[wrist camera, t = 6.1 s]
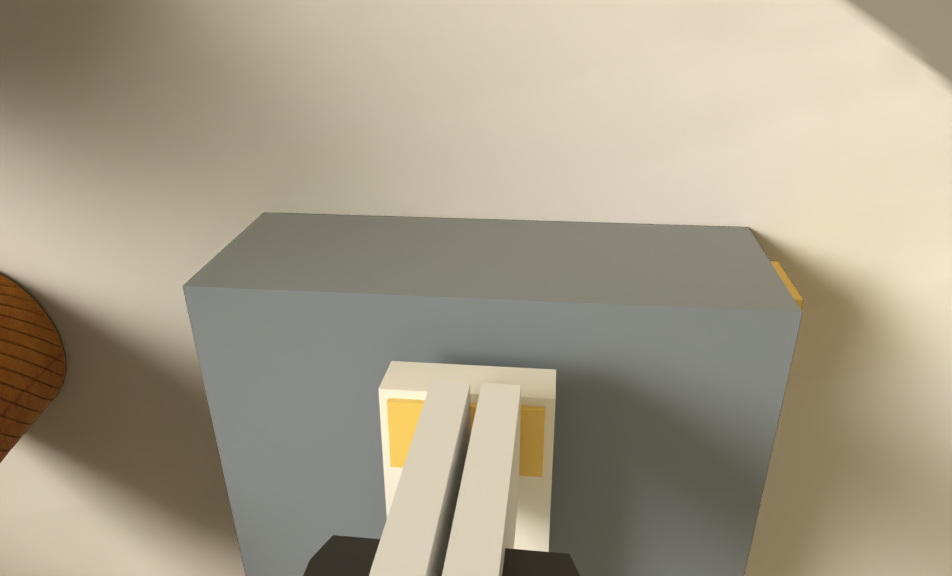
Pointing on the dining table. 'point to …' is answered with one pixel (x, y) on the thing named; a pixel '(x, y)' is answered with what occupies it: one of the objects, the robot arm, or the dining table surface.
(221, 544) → the dining table surface
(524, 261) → the console
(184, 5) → the dining table surface
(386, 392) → the rocker
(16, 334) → the disposable coffee cup
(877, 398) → the dining table surface
